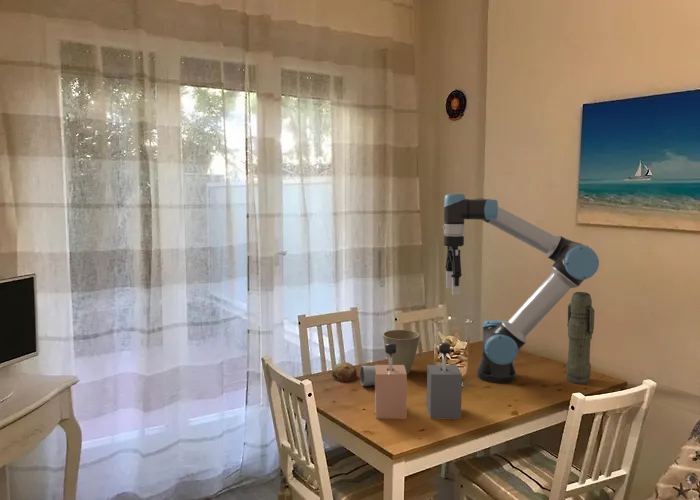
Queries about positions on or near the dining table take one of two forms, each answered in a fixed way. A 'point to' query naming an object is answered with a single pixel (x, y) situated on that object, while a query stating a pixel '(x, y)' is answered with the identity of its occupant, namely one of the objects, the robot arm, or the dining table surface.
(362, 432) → the dining table surface
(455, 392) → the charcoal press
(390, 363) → the plunger
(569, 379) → the thermos
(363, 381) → the ceramic mug
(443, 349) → the charcoal plunger
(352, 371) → the bread roll
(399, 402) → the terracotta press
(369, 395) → the dining table surface
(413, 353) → the plant pot
